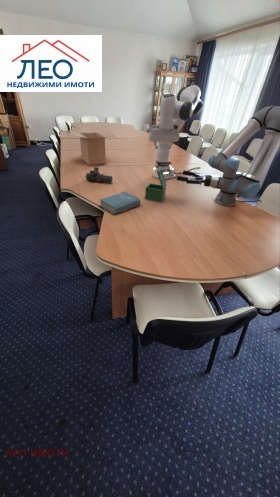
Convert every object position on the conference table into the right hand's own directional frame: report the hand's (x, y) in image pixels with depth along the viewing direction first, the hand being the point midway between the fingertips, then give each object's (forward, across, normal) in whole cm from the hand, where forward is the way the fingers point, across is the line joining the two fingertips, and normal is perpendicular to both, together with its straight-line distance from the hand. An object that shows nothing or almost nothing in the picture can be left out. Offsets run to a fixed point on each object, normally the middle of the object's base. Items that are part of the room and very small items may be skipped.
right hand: (180, 175), depth 151 cm
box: (+110, +53, -21) cm, 124 cm away
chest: (+17, 0, -21) cm, 27 cm away
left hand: (+15, 0, +15) cm, 21 cm away
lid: (+13, 0, -5) cm, 14 cm away
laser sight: (+71, +5, -21) cm, 74 cm away
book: (+32, -26, -21) cm, 46 cm away
